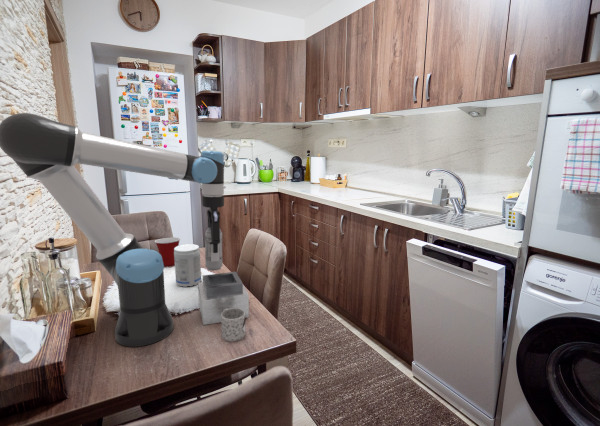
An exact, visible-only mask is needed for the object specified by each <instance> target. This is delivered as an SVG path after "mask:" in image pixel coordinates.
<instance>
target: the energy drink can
mask: <svg viewBox="0 0 600 426" xmlns="http://www.w3.org/2000/svg"><path fill="white" fill-rule="evenodd" d="M210 242H212V241H211V227H210V228H208V227H206V231H205V233H204V244H205V245H204V250H205V251H204V253H205V254H204V255H205V256H204V257H205V259H204V260H205V261H204V262H205V268H206V269H207V270H208V271H212V272H214V271H219V270H221V269H222V267H223V232H222V230H221V229H220V243H219V261H213V262H211V244H209V243H210Z"/></svg>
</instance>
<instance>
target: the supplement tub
mask: <svg viewBox="0 0 600 426" xmlns="http://www.w3.org/2000/svg"><path fill="white" fill-rule="evenodd" d="M174 260H175V265H174V271H175V272H174V273H175V284H176V285H177V286H178V287H182V286H183V287H185V288H186V287H187V286H190V287H194V286H196V285H198V283H202V282H201V281H202V270H201V269H202V268H201V252H200V246H199V245H198V244H194V243H186V244H180V245H178V246H177V247H175V248H174ZM193 285H194V286H193ZM187 288H188V287H187Z"/></svg>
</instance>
